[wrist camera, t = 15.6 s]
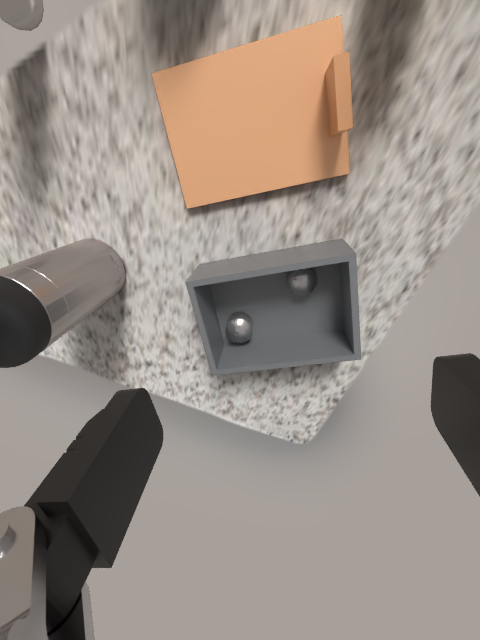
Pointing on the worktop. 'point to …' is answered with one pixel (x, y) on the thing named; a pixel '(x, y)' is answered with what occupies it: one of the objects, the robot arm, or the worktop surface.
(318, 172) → the lid
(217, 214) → the worktop surface
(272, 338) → the tub
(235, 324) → the metal part
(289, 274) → the metal part
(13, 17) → the bottle
